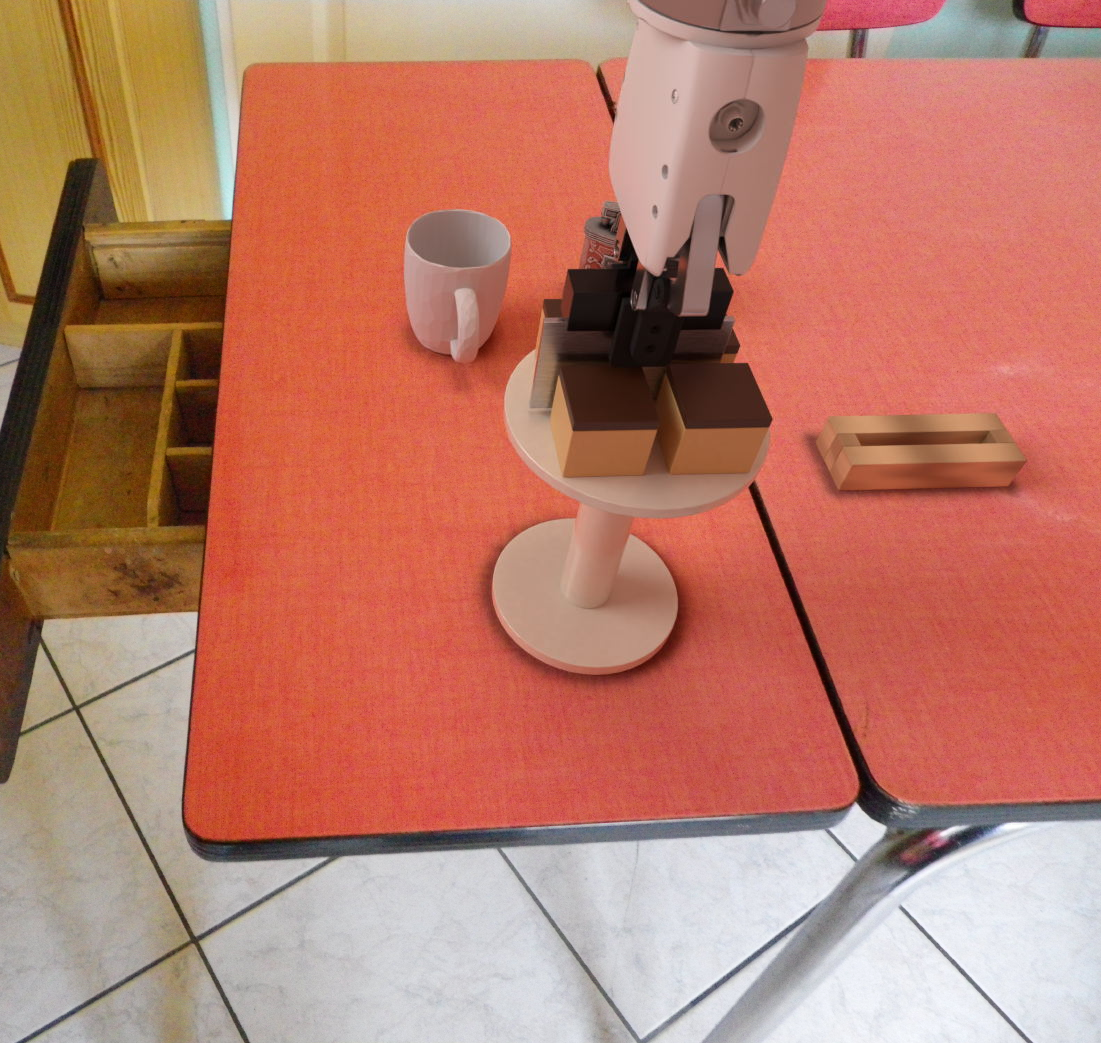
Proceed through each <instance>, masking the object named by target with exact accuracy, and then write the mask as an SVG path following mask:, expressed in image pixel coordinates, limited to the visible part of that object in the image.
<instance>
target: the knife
mask: <svg viewBox="0 0 1101 1043" xmlns="http://www.w3.org/2000/svg"><path fill="white" fill-rule="evenodd" d="M636 270H637V268H633V269H579V268H568V269H567V270H566V275H565V281H564V286H563V292H562V296H561V299H562V303H561V311H562V315H563V318H544V319H543V324H542V330H541V336H540V342H539V348H538V354H537V360H536V366H535V372H534V378H533V384H532V390H531V396H530V402H529V406H530V408H552V406H553V401H554V396H555V391H556V385H557V380H558V376H559V370H560V366H585V365H611V364H610V360H609V352H610V348H611V344H612V339H613V335H614V331H615V327H616V323H617V319H618V314H619V310H620V306H621V302H622V298H630V296H631V290H632V286H633V282H634V278H635V274H636ZM677 273H678V269H667V270H666V271H662V273H661V275H660V276H655V277H654V281H655V280H657V279H659V278H677ZM734 292H735V291H734V288H733V286H732V284H731V281H730V279H729V277H728V275H727V273H726V271H725V268H724V267H715V271H714V278H713V285H712V292H711V299H710V305H709V311H708V314H707V315H706V316H705V317H685V319H684V322H683V325H682V328H681V332H680V335H679V338H678V341H677V345H676V348H675V351H674V354H673V358H672V361H671V363H670V364H704V363H720V362H721V359H722V356H723V354H724V351H725V348H726V345H727V342H728V340H729V337H730V334H731V331H732V328H733V329H734V326H735V322H736V318H735V316H734V315H727V316H726V314H727V313H728V310H729V307H730V304H731V302H732V299H733V296H734ZM667 366H668V365H667ZM667 366H665V367H642V368H643V371H644V374H645V377H646V380H647V383H648V386H649V389H650V392H651V395H652V398H653V401H654V404H655V405H656V402H657V399H658V395H659V392H660V389H661V386H662V382H663V379H664V376H665V373H666V369H667Z"/></svg>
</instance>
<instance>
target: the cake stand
mask: <svg viewBox="0 0 1101 1043" xmlns="http://www.w3.org/2000/svg"><path fill="white" fill-rule="evenodd" d="M535 349H536V348H534V349H533V350H531V351H530V352H529V353H528V354H527V355H525V356H524V357H523V359H521V361H520V362H518V364H517V365H516V366H515V368H514V370H513V371H512V373H511V374H510V375H509V378H508V381H507V384H506V386H505V391H504V397H503V404H502V410H503V411H502V419H503V423H504V427H505V432H506V434H507V436H508V439H509V442H510V444H511V445H512V447H513V449H514V451H515V452H516V454H517V456H518V457H519V458H520V459H521V460H522V462H523V463H524V464H525V465H526V467H527V468H528V469H529V470H530V471H531V472H532V473H534V474H535V475H536V476H537V477H538V478H539V479H540V480H542V481H543V482H545V483H546V484H547V485H548V486H550V487H551V488H553V489H554V490H556V491H557V492H559V493H561V494H563V495H564V496H566V497H568V498H571V499H572V500H574V501H577V502H579V504H578V508H577V512H576V516H575V518H573V517H572V518H571V517H570V518H569V517H568V518H558V519H551V520H548V521H544V522H540V523H538V524H535V525H532V526H531V527H529V528H526V529H525V530H523V531H521V532H520V533H519V534H517V535H515V536H514V537H513V538H512V540H510V541H509V542H508V543H507V545H506V546H505V547H504V548H503V550H502V551H500V552H501V553H500V554H499V557H498V558H497V560H496V563H495V566H494V569H493V575H492V582H491V598H492V605H493V608H494V611H495V615H496V616H497V618H498V620H499V622H500V624H501V626H502V627H503V629H504V631H505V632H506V633H507V634H508V636H509V637H510V638H511V639H512V640H513V641H514V643H516V644H517V645H518V646H519V647H520V648H521V649H522V650H524V651H525V652H526V653H527V654H529V655H531V656H532V657H533V658H535V659H537V660H539V661H541V662H543V663H544V664H547V665H548V666H551V667H553V668H555V669H559V670H563V671H566V672H569V673H573V674H574V673H575V674H579V675H591V676H595V675H596V676H598V675H601V676H603V675H611V674H616V673H617V674H618V673H621V672H625V671H629V670H631V669H634V668H636V667H639V666H640V665H642V664H644V663H646V662H647V661H649V660H650V659H652V658H653V657H654V656H655V655H656V654H657V653H658V652H659V651H660V650H661V649H662V648H663V646H664V645H665V644H666V643H667V641H668V639H669V637H670V635H671V633H672V631H673V628H674V626H675V624H676V623H675V622H676V621H677V617H678V610H679V596H678V592H677V591H678V590H677V587H676V584H675V581H674V578H673V576H672V574H671V572H670V570H669V568H668V567H667V565H666V564H665V562H664V560H662V558H661V557H660V555H658V553H656V551H655V550H653V549H652V548H651V547H650V546H649V545H648V544H647V543H646V542H644V541H642V540H641V539H640V538H638V536H636V535H633V534H632V533H631V532H632V529H633V527H634V523H635V520H636V518H637V519H652V520H654V519H655V520H661V519H662V520H664V519H678V518H686V517H691V516H696V515H699V514H704V513H707V512H710V511H713V510H715V509H718V508H720V507H722V506H724V505H726V504H728V503H729V502H731V501H733V500H734V499H736V498H738V497H739V496H740V495H741V494H742V493H743V492H745V491H746V490H747V489H749V487H750V486H751V485H752V484H753V482H754V481H755V480H756V478H757V477H758V475H759V473H760V472H761V470H762V468H763V467H764V463H765V461H766V460H767V457H768V454H769V450H770V444H771V428H770V427H769V429H768V431H767V434H766V436H765V438H764V440H763V443H762V445H761V447H760V449H759V452H758V454H757V456H756V459H755V461H754V463H753V465H752V468H751V470H750V472H749V473H723V474H680V475H670V474H669V471H668V468H667V465H666V462H665V459H664V456H663V453H662V450H661V446H660V443H659V440H658V437H657V434H656V436H655V439H654V442H653V445H652V449H651V452H650V455H649V458H648V461H647V464H646V468H645V471H644V474H643V475H635V476H592V477H562V473H561V469H560V465H559V460H558V456H557V451H556V447H555V442H554V438H553V433H552V429H551V424H550V416H551V411H552V408H530V406H529V402H530V396H531V390H532V384H533V378H534V372H535V366H536V357H535Z"/></svg>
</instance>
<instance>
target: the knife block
mask: <svg viewBox="0 0 1101 1043" xmlns="http://www.w3.org/2000/svg"><path fill="white" fill-rule="evenodd" d="M815 445H816V446H817V449H818V451H819V453H820V455H821V457H822V460H823V461H824V463H825V466H826V467H827V470H828V472H829V474H830V476H831V479H832V481H833V482H834V484H835V486H836V489H837V491H870V490H872V491H873V490H909V489H910V490H911V489H914V490H916V489H917V490H918V489H946V488H947V489H953V488H958V489H959V488H991V487H992V488H995V487H996V488H997V487H998V488H999V487H1009V486H1010V484H1011V483H1012V481H1014V479H1015V478H1016V476H1017V475H1018V474H1019V472H1020V471H1021V470H1022V469H1023V467H1024V466H1025V464H1026V463H1027V462H1028V460H1027V458H1026V456H1025V454H1024V453H1023V452H1022V450H1021V449H1020V447H1019V445H1018V443H1016V441H1015V440H1014V438H1013V436H1012V434H1010V432H1009V430H1008V429H1007V427H1006V426H1005V425H1004V422H1002V420H1001V418H1000V417H999V416H998V414H997V413H996V412H984V413H983V412H980V413H978V412H977V413H974V412H973V413H936V414H935V413H933V414H931V413H930V414H929V413H928V414H925V413H923V414H884V415H883V414H880V415H879V414H877V415H876V414H875V415H873V414H872V415H830V416H828V417H827V418H826V421H825V422H824V424H823V427H822V429H821V431H820V433H819V434H818V436H817V438H816V441H815Z"/></svg>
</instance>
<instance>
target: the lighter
mask: <svg viewBox="0 0 1101 1043" xmlns="http://www.w3.org/2000/svg"><path fill="white" fill-rule="evenodd" d="M620 217H621V211H620V208H619V205H618V202H617V201H613V200H605V201H603V203H602V206H601V212H600V216H591V217H589V218H588V219H587V220H586V221H585V224H584V228H583V234H584V239H583V245H582V249H581V253H580V254H581V255H580V259H579V265H578V269H610V268H611V264H622V263H623V261H615V259H614V243H615V239H616V234H617V230H618V225H619V221H620Z"/></svg>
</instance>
